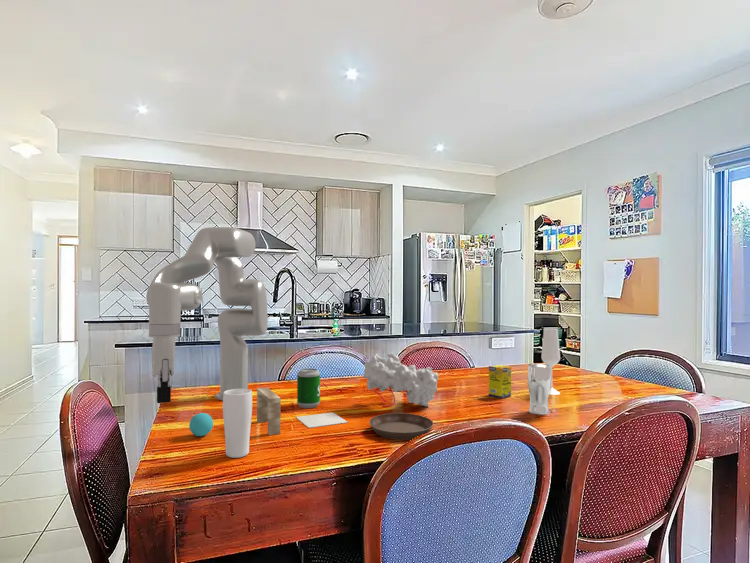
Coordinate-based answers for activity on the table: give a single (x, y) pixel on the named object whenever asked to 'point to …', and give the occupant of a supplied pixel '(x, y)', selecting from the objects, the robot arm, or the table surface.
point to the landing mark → (321, 420)
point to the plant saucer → (400, 425)
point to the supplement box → (500, 381)
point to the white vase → (539, 388)
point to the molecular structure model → (400, 379)
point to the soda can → (308, 388)
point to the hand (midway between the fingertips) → (163, 402)
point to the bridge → (269, 409)
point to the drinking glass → (237, 421)
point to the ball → (201, 424)
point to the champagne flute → (551, 352)
